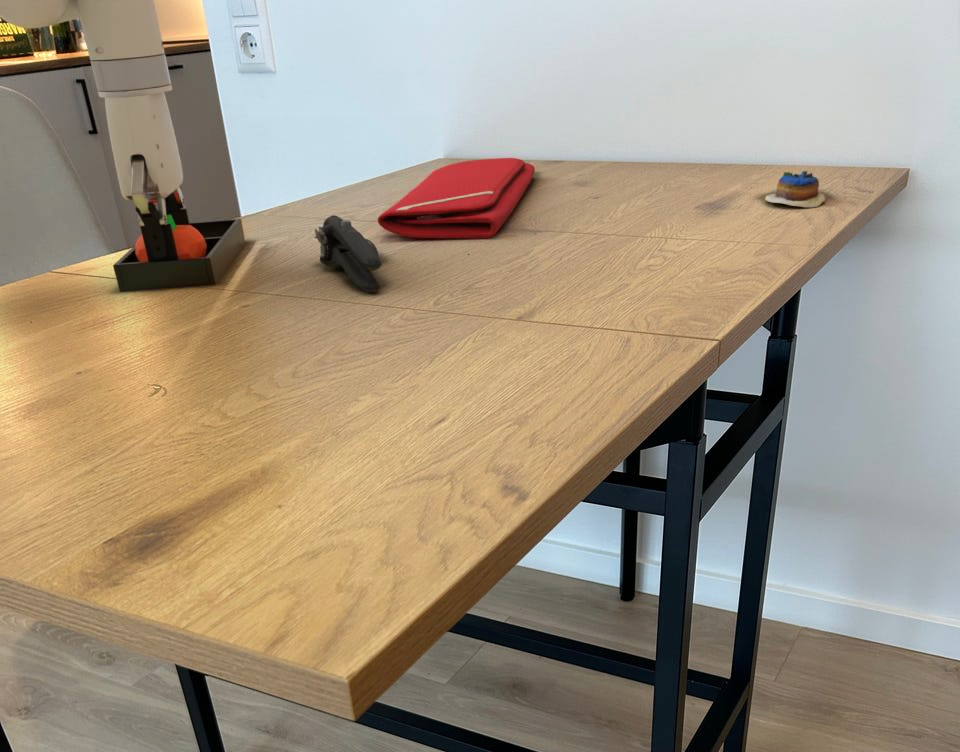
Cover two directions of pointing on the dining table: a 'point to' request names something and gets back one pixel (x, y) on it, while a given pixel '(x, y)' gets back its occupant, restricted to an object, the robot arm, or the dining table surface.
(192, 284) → the tray
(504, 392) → the dining table surface
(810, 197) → the dessert
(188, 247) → the pumpkin
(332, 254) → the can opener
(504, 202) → the red felt clutch
